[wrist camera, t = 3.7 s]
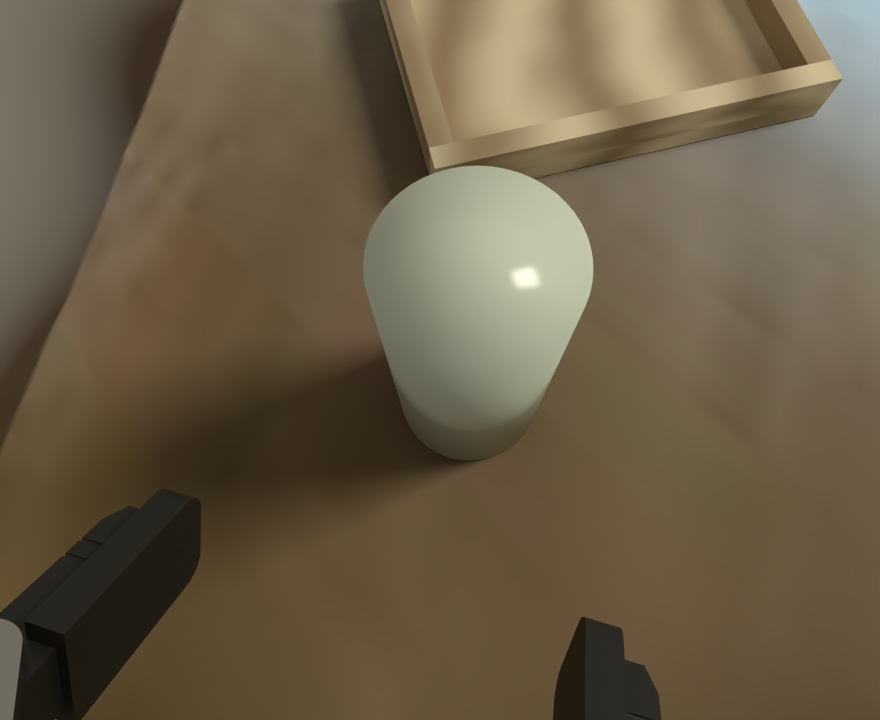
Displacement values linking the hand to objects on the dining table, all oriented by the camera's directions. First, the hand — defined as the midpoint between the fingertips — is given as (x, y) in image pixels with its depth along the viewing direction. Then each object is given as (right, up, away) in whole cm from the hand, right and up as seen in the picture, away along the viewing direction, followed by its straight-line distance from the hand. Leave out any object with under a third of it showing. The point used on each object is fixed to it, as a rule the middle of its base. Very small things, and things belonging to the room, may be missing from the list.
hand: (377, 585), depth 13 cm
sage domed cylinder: (+2, +3, +15) cm, 16 cm away
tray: (+9, +21, +21) cm, 31 cm away
